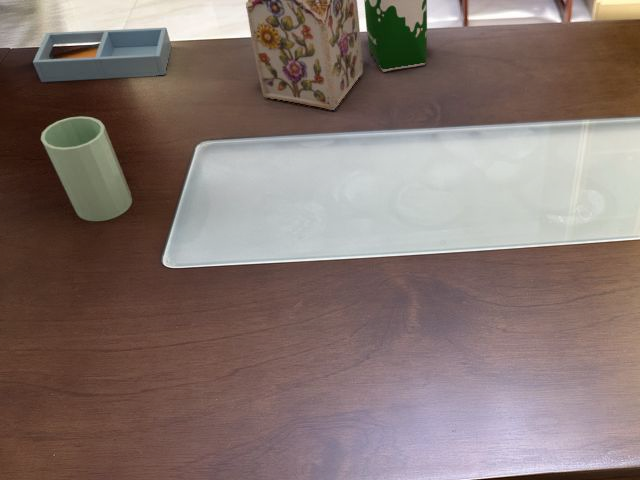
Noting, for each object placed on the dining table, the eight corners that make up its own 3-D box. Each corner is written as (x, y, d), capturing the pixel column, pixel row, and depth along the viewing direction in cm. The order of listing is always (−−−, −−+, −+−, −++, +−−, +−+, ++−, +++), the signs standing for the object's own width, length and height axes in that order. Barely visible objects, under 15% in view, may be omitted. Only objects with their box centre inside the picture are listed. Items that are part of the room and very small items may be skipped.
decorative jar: (335, 113, 103) (319, -17, 90) (261, 99, 105) (234, -30, 92) (365, 74, 111) (355, -52, 97) (296, 61, 113) (276, -64, 99)
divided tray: (41, 82, 107) (32, 62, 104) (54, 52, 113) (46, 32, 110) (165, 75, 109) (159, 55, 107) (171, 46, 115) (166, 27, 113)
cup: (85, 228, 85) (51, 156, 78) (67, 200, 89) (33, 128, 81) (140, 208, 88) (112, 136, 81) (121, 181, 92) (92, 110, 84)
